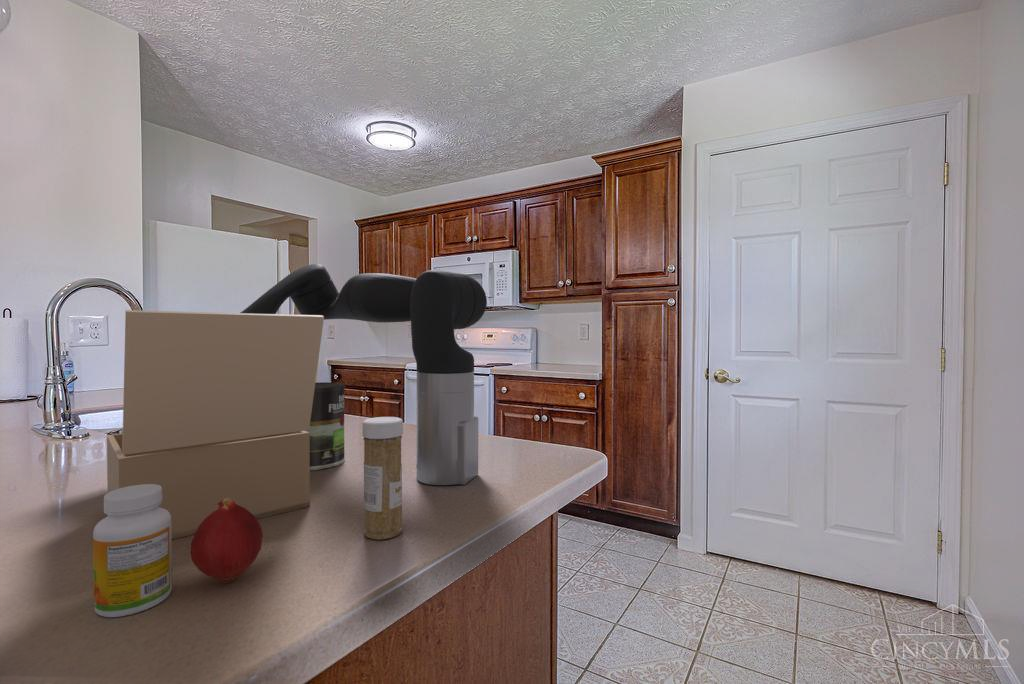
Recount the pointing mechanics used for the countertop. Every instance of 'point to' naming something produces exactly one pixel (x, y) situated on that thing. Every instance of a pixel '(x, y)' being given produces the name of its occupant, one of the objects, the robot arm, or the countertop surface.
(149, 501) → the supplement bottle
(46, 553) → the countertop surface
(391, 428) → the sprinkles bottle
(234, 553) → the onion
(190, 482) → the carton
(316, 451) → the coffee can
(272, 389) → the carton flap
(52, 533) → the countertop surface
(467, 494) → the countertop surface
